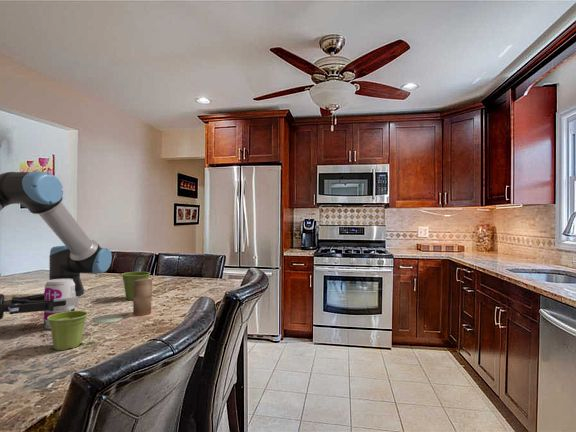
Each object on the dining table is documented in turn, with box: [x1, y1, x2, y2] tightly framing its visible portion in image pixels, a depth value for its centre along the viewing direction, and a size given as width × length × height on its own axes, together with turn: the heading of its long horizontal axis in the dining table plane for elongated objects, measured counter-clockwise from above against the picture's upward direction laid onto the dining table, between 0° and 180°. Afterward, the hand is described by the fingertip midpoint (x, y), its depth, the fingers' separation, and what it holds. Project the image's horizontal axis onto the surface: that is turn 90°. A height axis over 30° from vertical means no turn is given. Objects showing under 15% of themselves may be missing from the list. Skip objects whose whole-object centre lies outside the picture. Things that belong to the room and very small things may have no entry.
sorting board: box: [92, 309, 157, 324], centre depth 115 cm, size 16×20×1 cm
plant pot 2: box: [120, 271, 151, 301], centre depth 146 cm, size 12×12×11 cm
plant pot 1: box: [47, 310, 89, 351], centre depth 90 cm, size 9×9×9 cm
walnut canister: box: [132, 278, 153, 316], centre depth 118 cm, size 6×6×12 cm
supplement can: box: [43, 278, 76, 330], centre depth 107 cm, size 8×8×15 cm
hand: (76, 298), depth 110 cm, fingers closed on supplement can, 8 cm apart
